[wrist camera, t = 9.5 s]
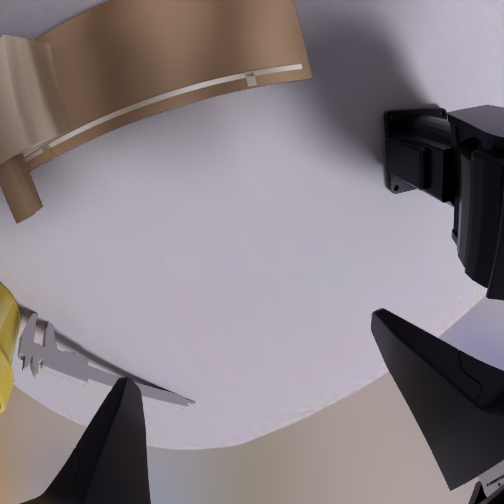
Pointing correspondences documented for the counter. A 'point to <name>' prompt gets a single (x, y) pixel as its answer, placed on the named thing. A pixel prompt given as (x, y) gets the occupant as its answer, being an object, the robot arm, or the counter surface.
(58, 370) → the caliper
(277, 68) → the walnut board
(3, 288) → the plant pot
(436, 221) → the counter surface
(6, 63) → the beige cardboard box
